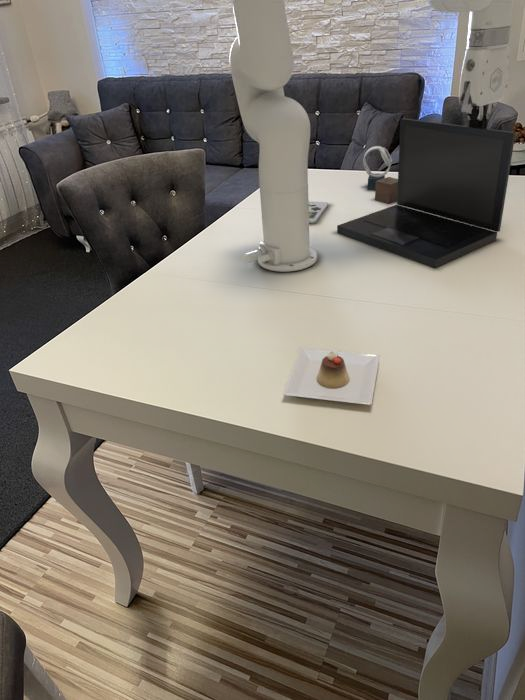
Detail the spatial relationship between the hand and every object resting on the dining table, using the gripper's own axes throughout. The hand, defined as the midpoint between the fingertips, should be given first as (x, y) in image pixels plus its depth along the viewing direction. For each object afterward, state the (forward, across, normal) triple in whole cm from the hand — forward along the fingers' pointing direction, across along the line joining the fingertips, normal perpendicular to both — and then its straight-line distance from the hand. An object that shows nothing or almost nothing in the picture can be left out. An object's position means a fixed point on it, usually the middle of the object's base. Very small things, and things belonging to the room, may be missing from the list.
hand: (476, 139), depth 112 cm
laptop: (+19, -13, +4) cm, 23 cm away
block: (+19, +3, +26) cm, 32 cm away
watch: (+19, +9, +36) cm, 42 cm away
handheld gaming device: (+18, -19, +34) cm, 43 cm away
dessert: (+18, -63, -23) cm, 70 cm away
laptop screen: (+7, -3, +4) cm, 9 cm away
